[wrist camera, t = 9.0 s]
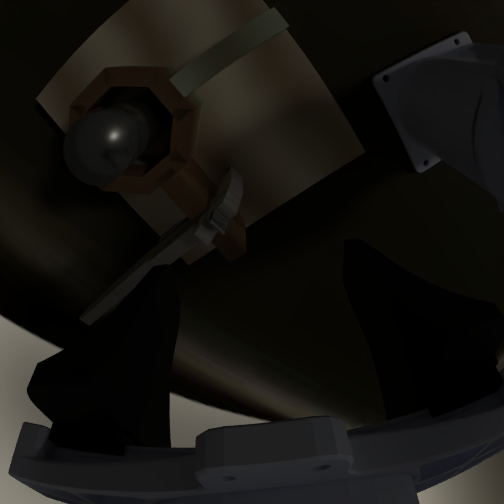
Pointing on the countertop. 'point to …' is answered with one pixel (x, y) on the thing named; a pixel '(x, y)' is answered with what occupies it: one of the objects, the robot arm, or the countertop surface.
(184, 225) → the caliper
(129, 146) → the steel pin
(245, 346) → the countertop surface
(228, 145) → the hinge base
